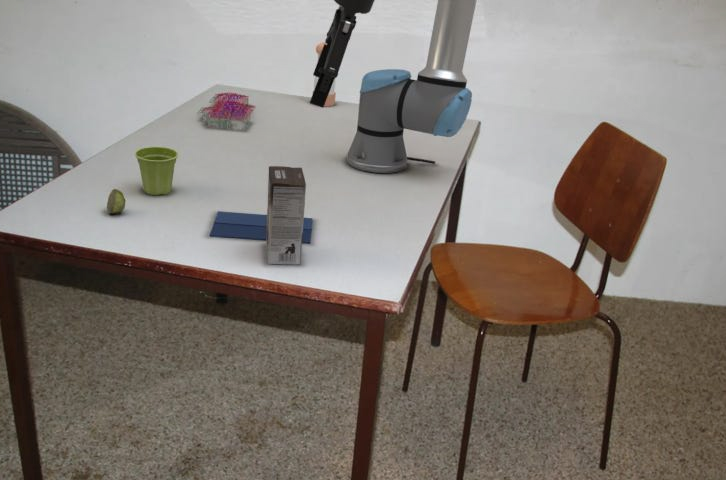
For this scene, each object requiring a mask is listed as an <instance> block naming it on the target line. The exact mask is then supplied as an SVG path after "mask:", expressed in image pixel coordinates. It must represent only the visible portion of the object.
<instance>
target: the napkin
mask: <svg viewBox="0 0 726 480" xmlns="http://www.w3.org/2000/svg"><path fill="white" fill-rule="evenodd" d="M312 227H313V218H312V217H304V221H303V235H302V244H311V237H312V229H313V228H312ZM209 237H213V238H227V239H228V238H229V239H242V240H257V241H266V238H267V214H258V213H244V212H233V211H220V210H219V211H217V214H216V216H215V219H214V222H213V226H212V228H211V230H210V233H209Z"/></svg>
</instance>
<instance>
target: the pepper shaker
mask: <svg viewBox="0 0 726 480" xmlns="http://www.w3.org/2000/svg"><path fill="white" fill-rule="evenodd" d="M324 44H326V45H327V43H325V41H324V42H320V43H318V44H317V45H316V47H315V52H316V54H317V63H318V60H319V57H320V54H321V52H322V49H323V46H324ZM317 63H316V64H317ZM330 69H333V68H331V67H330ZM333 70H334V69H333ZM318 79H319V77H316V76H314V83H313V86H314V87H313V91H312V93H313V92H314V90H315V87H316V84H317V82H318ZM335 89H336V78H335V79H334V82H333V84H332V87H331V89H330V92H329V94H328V97H327V99H326V102H325V105H324V107H333V106H335V105H336V90H335Z"/></svg>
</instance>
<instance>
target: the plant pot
mask: <svg viewBox="0 0 726 480" xmlns="http://www.w3.org/2000/svg"><path fill="white" fill-rule="evenodd" d="M134 156H135V158H136V160H137V163H138V165H139V172H140V178H141V182H142V183H141V184H142V189H143V191H144V192H145V193H146V194H147V195H152V196H159V195H168V194H170V193H171V192H172V190H173V189H172V188H173V179H174V174H175V173H174V172H175V164H176V162H177V159H178V157H179V152H178V150H175V149H173V148H171V147H166V146H146V147H142V148H138V149H137V150H135V152H134Z"/></svg>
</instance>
